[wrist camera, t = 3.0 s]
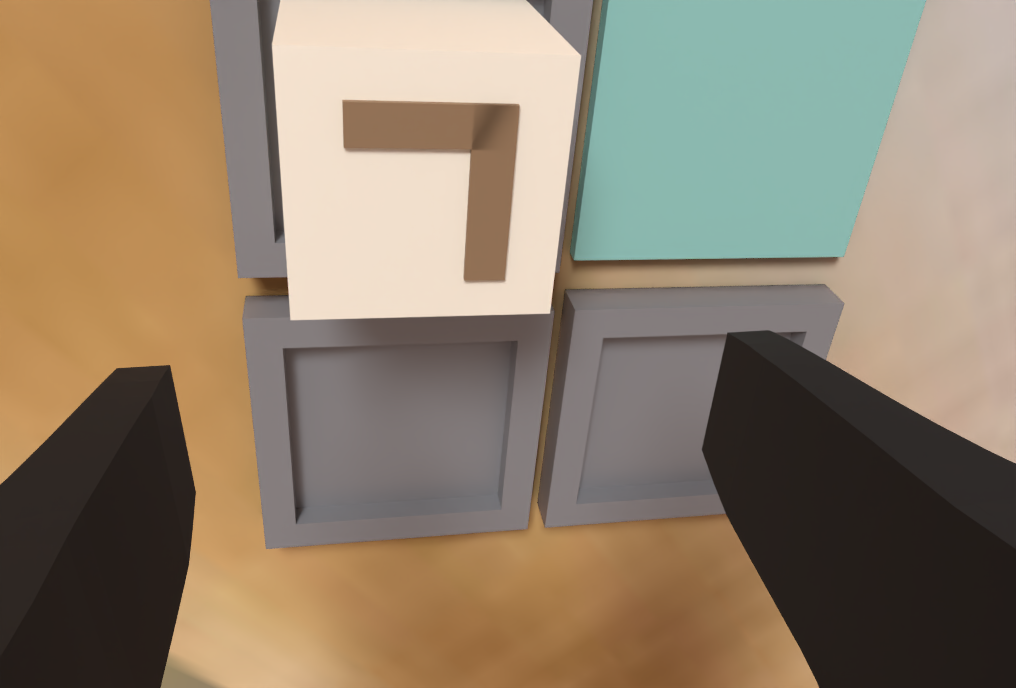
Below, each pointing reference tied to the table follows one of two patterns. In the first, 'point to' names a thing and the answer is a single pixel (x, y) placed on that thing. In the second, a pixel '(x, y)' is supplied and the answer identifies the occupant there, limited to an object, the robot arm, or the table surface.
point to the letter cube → (421, 156)
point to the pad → (735, 125)
